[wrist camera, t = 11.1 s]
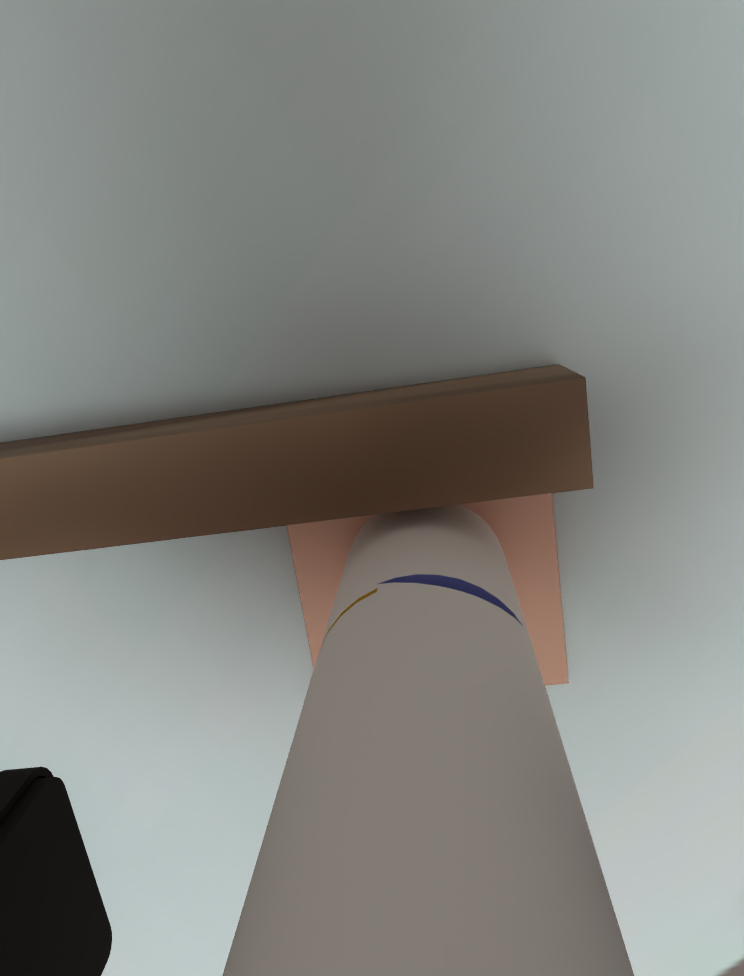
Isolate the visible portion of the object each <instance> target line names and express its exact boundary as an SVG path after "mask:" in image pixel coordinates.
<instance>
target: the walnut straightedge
mask: <svg viewBox="0 0 744 976" xmlns="http://www.w3.org/2000/svg"><path fill="white" fill-rule="evenodd" d="M590 488H593V475H592V461H591V448H590V434H589V420H588V407H587V393H586V379H585V377H583V376H581V375H579V374H577V373H575V372H573V371H571V370H569V369H567V368H565V367H563V366H561V365H552V366H544V367H537V368H530V369H523V370H516V371H509V372H502V373H495V374H488V375H480V376H473V377H466V378H459V379H452V380H445V381H438V382H431V383H424V384H416V385H409V386H402V387H395V388H388V389H381V390H374V391H367V392H360V393H352V394H345V395H338V396H331V397H324V398H317V399H310V400H303V401H296V402H288V403H281V404H274V405H267V406H260V407H253V408H246V409H239V410H232V411H225V412H217V413H210V414H203V415H196V416H189V417H182V418H175V419H168V420H161V421H153V422H146V423H139V424H132V425H125V426H118V427H111V428H104V429H97V430H89V431H82V432H75V433H68V434H61V435H54V436H47V437H40V438H33V439H25V440H18V441H11V442H4V443H0V560H5V559H13V558H22V557H30V556H38V555H46V554H55V553H63V552H71V551H79V550H87V549H96V548H104V547H112V546H120V545H129V544H137V543H145V542H153V541H162V540H170V539H178V538H186V537H194V536H203V535H211V534H219V533H227V532H236V531H244V530H252V529H260V528H269V527H277V526H285V525H293V524H301V523H310V522H318V521H326V520H334V519H343V518H351V517H359V516H367V515H376V514H384V513H392V512H400V511H408V510H417V509H425V508H433V507H441V506H450V505H458V504H466V503H474V502H483V501H491V500H499V499H507V498H515V497H524V496H532V495H540V494H548V493H557V492H565V491H573V490H581V489H590Z"/></svg>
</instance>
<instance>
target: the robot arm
mask: <svg viewBox="0 0 744 976" xmlns="http://www.w3.org/2000/svg"><path fill="white" fill-rule="evenodd" d="M111 944H112V931H111V926H110V923H109V920H108V917H107V914H106V911H105V908H104V905H103V902H102V898H101V895H100V892H99V889H98V886H97V883H96V880H95V877H94V874H93V871H92V868H91V865H90V862H89V859H88V856H87V852H86V849H85V846H84V843H83V840H82V837H81V834H80V831H79V828H78V825H77V822H76V819H75V816H74V813H73V809H72V806H71V803H70V800H69V797H68V794H67V791H66V788H65V785H64V783H63V781H62V780H61V779H60V778H58V777H53V775H52V773H51V772H50V771H49V770H48V769H47V768H44V767H35V768H24V769H13V770H4V771H1V772H0V976H101V974H102V972H103V970H104V968H105V965H106V963H107V961H108V958H109V955H110V950H111Z"/></svg>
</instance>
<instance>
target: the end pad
mask: <svg viewBox="0 0 744 976" xmlns="http://www.w3.org/2000/svg"><path fill="white" fill-rule="evenodd" d="M461 505H463V506H465V507H467V508H469V509H470V510H472V511H473V512H475V513H476V514H478V515H479V516H480V517H481V518H482V519H483V520H484V521H485V522H486V523H487V524H488V525H489V526H490V527H491V529H492V530H493V532H494V533H495V535H496V536H497V538H498V540H499V542H500V544H501V547H502V549H503V552H504V555H505V558H506V561H507V565H508V568H509V571H510V574H511V578H512V581H513V584H514V587H515V591H516V594H517V597H518V600H519V604H520V607H521V610H522V613H523V617H524V620H525V623H526V626H527V630H528V633H529V636H530V639H531V642H532V646H533V649H534V653H535V655H536V659H537V662H538V665H539V669H540V672H541V675H542V678H543V682H544V685H553V684H563V683H569V682H568V671H567V659H566V648H565V637H564V625H563V614H562V603H561V591H560V580H559V569H558V557H557V546H556V535H555V523H554V512H553V501H552V493H548V494H540V495H532V496H524V497H515V498H507V499H499V500H491V501H483V502H474V503H466V504H461ZM372 516H373V515H367V516H359V517H351V518H343V519H334V520H326V521H318V522H310V523H301V524H293V525H287V529H288V534H289V540H290V545H291V550H292V556H293V561H294V566H295V572H296V577H297V582H298V588H299V593H300V598H301V604H302V609H303V614H304V620H305V625H306V630H307V635H308V641H309V646H310V651H311V657H312V662H313V667H314V668H315V664H316V661H317V658H318V654H319V651H320V648H321V644H322V641H323V638H324V634H325V631H326V627H327V624H328V621H329V617H330V614H331V611H332V607H333V604H334V601H335V597H336V594H337V591H338V587H339V584H340V581H341V577H342V574H343V570H344V567H345V564H346V560H347V557H348V554H349V550H350V548H351V546H352V543H353V541H354V539H355V536H356V535H357V533H358V532H359V531H360V529H361V528H362V526H363V525H364V524H365V523H366V522H367V521H368V520H369V519H370V518H371V517H372Z"/></svg>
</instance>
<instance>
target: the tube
mask: <svg viewBox="0 0 744 976" xmlns="http://www.w3.org/2000/svg"><path fill="white" fill-rule="evenodd" d="M223 976H634V974H633V970H632V967H631V964H630V961H629V957H628V954H627V951H626V948H625V944H624V941H623V938H622V935H621V931H620V928H619V925H618V922H617V918H616V915H615V912H614V909H613V906H612V902H611V899H610V896H609V893H608V889H607V886H606V883H605V880H604V876H603V873H602V870H601V867H600V863H599V860H598V857H597V854H596V850H595V847H594V844H593V841H592V837H591V834H590V831H589V828H588V824H587V821H586V818H585V815H584V811H583V808H582V805H581V802H580V798H579V795H578V792H577V789H576V785H575V782H574V779H573V776H572V772H571V769H570V766H569V763H568V760H567V756H566V753H565V750H564V747H563V743H562V740H561V737H560V734H559V730H558V727H557V724H556V721H555V717H554V714H553V711H552V708H551V704H550V701H549V698H548V695H547V691H546V688H545V685H544V682H543V678H542V675H541V672H540V669H539V665H538V662H537V659H536V655H535V653H534V649H533V646H532V642H531V639H530V636H529V633H528V630H527V626H526V623H525V620H524V617H523V613H522V610H521V607H520V604H519V600H518V597H517V594H516V591H515V587H514V584H513V581H512V578H511V574H510V571H509V568H508V565H507V561H506V558H505V555H504V552H503V549H502V547H501V544H500V542H499V540H498V538H497V536H496V535H495V533H494V532H493V530H492V529H491V527H490V526H489V525H488V524H487V523H486V522H485V521H484V520H483V519H482V518H481V517H480V516H479V515H478V514H476V513H475V512H473V511H472V510H470V509H469V508H467V507H465V506H463V505H461V504H458V505H450V506H441V507H433V508H425V509H417V510H408V511H400V512H392V513H384V514H376V515H373V516H372V517H371V518H370V519H369V520H368V521H367V522H366V523H365V524H364V525H363V526H362V528H361V529H360V531H359V532H358V533H357V535H356V536H355V539H354V541H353V543H352V546H351V548H350V550H349V554H348V557H347V560H346V564H345V567H344V570H343V574H342V577H341V581H340V584H339V587H338V591H337V594H336V597H335V601H334V604H333V607H332V611H331V614H330V617H329V621H328V624H327V627H326V631H325V634H324V638H323V641H322V644H321V648H320V651H319V654H318V658H317V661H316V664H315V668H314V671H313V674H312V678H311V681H310V684H309V688H308V691H307V695H306V698H305V701H304V705H303V708H302V711H301V715H300V718H299V721H298V725H297V728H296V731H295V735H294V738H293V741H292V745H291V748H290V752H289V755H288V758H287V762H286V765H285V768H284V772H283V775H282V778H281V782H280V785H279V788H278V792H277V795H276V798H275V802H274V805H273V808H272V812H271V815H270V819H269V822H268V825H267V829H266V832H265V835H264V839H263V842H262V845H261V849H260V852H259V855H258V859H257V862H256V865H255V869H254V872H253V876H252V879H251V882H250V886H249V889H248V892H247V896H246V899H245V902H244V906H243V909H242V912H241V916H240V919H239V922H238V926H237V929H236V932H235V936H234V939H233V943H232V946H231V949H230V953H229V956H228V959H227V963H226V966H225V969H224V973H223Z"/></svg>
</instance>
